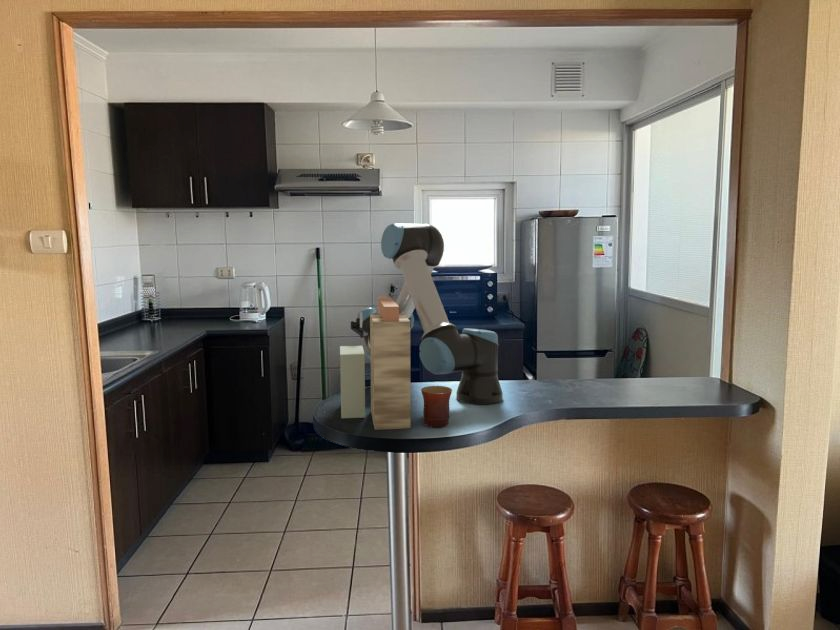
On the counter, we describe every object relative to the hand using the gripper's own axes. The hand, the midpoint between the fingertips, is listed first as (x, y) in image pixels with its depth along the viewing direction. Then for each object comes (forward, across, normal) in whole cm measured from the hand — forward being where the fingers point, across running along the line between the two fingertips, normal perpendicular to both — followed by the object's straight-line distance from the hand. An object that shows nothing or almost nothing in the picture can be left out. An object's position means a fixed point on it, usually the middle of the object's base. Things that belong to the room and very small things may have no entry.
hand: (382, 315), depth 194 cm
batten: (+16, 0, -6) cm, 17 cm away
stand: (+6, 0, -35) cm, 36 cm away
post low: (-3, +10, -30) cm, 32 cm away
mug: (+10, -13, -38) cm, 41 cm away
